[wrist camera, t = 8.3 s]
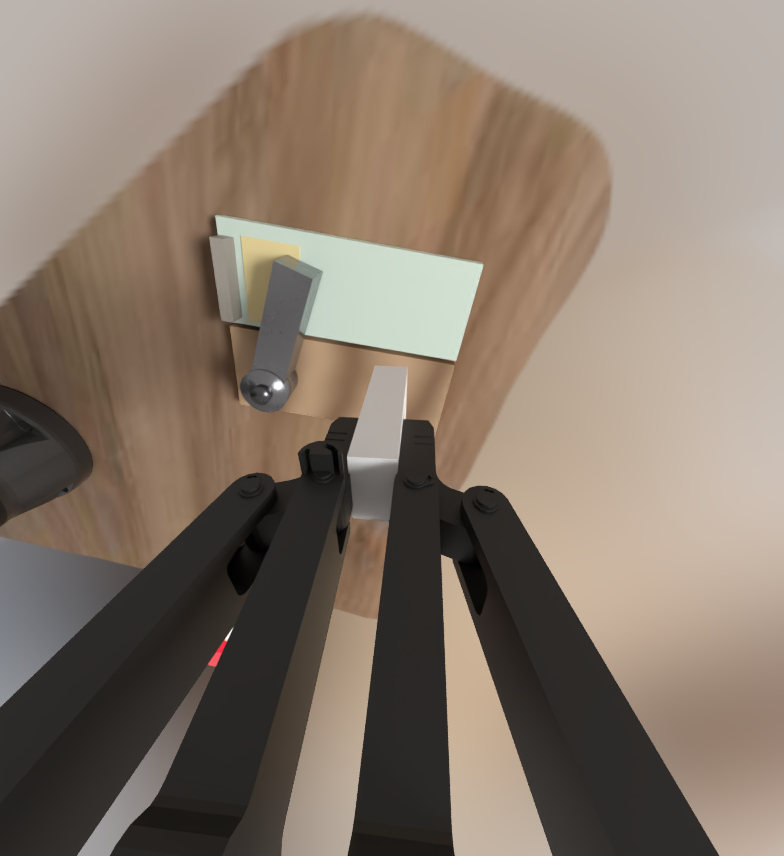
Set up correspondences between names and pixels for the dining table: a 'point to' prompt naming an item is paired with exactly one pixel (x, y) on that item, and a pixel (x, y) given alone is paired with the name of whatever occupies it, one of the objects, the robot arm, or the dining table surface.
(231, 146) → the dining table surface
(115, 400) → the dining table surface
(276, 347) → the latch bar
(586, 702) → the robot arm
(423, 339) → the door panel
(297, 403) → the board
